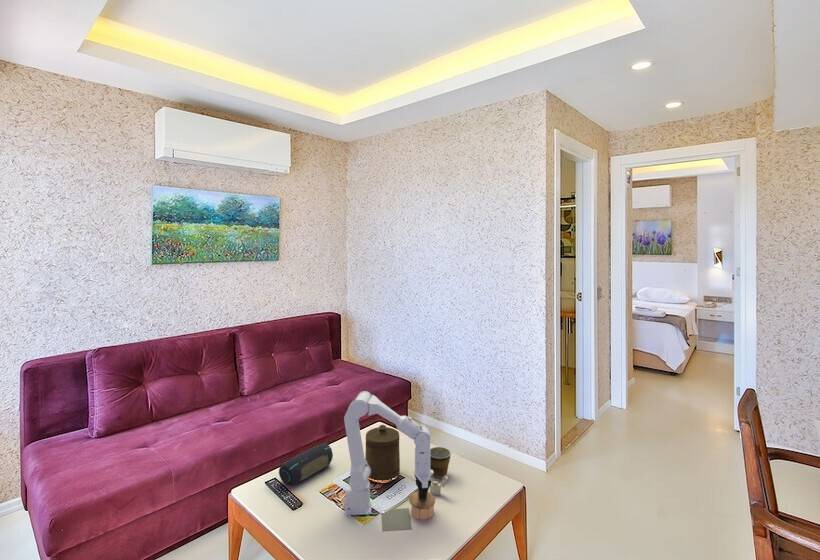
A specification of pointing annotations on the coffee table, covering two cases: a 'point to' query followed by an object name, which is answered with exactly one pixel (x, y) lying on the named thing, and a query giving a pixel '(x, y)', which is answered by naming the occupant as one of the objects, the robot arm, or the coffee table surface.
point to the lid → (421, 500)
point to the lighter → (437, 486)
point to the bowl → (422, 512)
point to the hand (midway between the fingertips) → (422, 495)
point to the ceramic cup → (439, 461)
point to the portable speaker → (305, 464)
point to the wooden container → (383, 453)
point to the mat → (396, 520)
